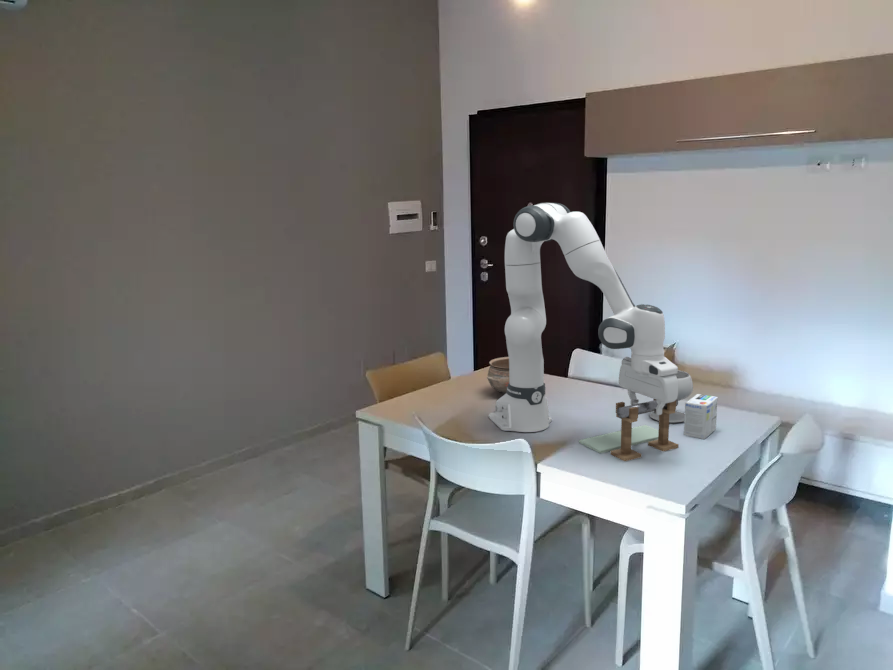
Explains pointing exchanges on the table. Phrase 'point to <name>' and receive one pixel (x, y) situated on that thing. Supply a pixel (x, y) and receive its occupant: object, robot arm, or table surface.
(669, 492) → the table surface
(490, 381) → the cooking pot
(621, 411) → the rail
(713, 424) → the light bulb box
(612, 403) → the table surface
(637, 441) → the mat
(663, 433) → the hook stands
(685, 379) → the chalice
